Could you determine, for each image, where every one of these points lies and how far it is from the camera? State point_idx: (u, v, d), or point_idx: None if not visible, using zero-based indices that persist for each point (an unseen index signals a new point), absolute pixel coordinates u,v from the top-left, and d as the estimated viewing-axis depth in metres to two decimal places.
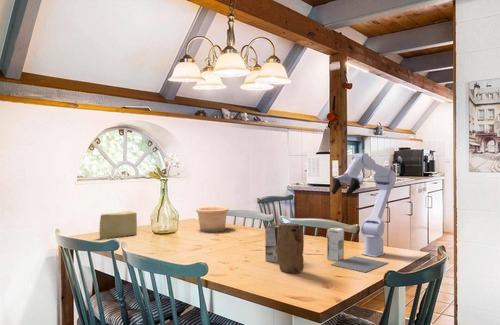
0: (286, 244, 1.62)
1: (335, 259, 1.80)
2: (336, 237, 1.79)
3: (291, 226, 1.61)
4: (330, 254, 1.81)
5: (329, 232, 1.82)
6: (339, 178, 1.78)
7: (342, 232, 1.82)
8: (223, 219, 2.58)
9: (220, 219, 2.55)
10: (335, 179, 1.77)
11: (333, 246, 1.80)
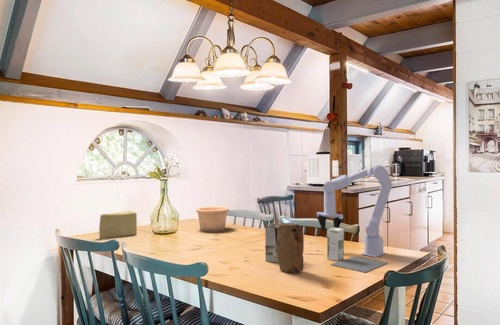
0: (286, 244, 1.62)
1: (335, 259, 1.80)
2: (336, 237, 1.79)
3: (291, 226, 1.61)
4: (330, 254, 1.81)
5: (329, 232, 1.82)
6: (321, 214, 1.99)
7: (342, 232, 1.82)
8: (223, 219, 2.58)
9: (220, 219, 2.55)
10: (319, 219, 1.98)
11: (333, 246, 1.80)
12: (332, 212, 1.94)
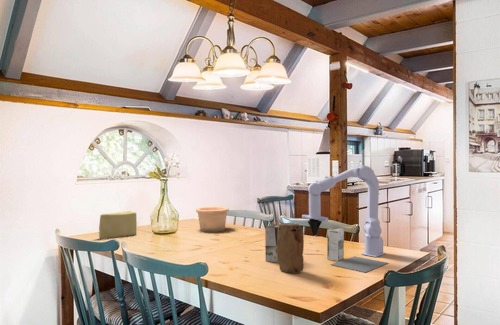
0: (286, 244, 1.62)
1: (335, 259, 1.80)
2: (336, 237, 1.79)
3: (291, 226, 1.61)
4: (330, 254, 1.81)
5: (329, 232, 1.82)
6: None
7: (342, 232, 1.82)
8: (223, 219, 2.58)
9: (220, 219, 2.55)
10: (310, 223, 1.90)
11: (333, 246, 1.80)
12: (317, 215, 1.89)
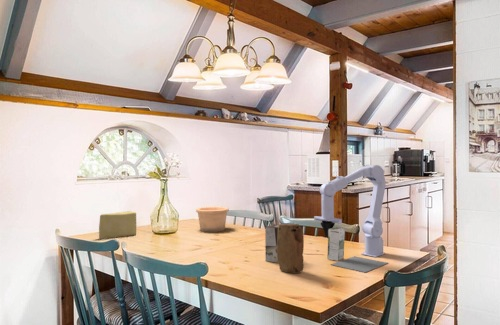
0: (286, 244, 1.62)
1: (335, 259, 1.80)
2: (336, 237, 1.79)
3: (291, 226, 1.61)
4: (330, 254, 1.81)
5: (330, 232, 1.81)
6: (319, 218, 1.88)
7: (343, 232, 1.82)
8: (223, 219, 2.58)
9: (220, 219, 2.55)
10: (323, 224, 1.85)
11: (333, 246, 1.80)
12: (330, 216, 1.83)
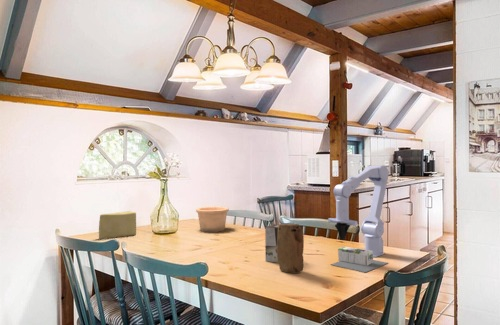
0: (286, 244, 1.62)
1: (339, 258, 1.79)
2: (361, 262, 1.72)
3: (291, 226, 1.61)
4: (343, 253, 1.77)
5: (364, 255, 1.71)
6: (333, 220, 1.82)
7: None
8: (223, 219, 2.58)
9: (220, 219, 2.55)
10: (337, 226, 1.79)
11: (351, 257, 1.75)
12: (345, 218, 1.77)
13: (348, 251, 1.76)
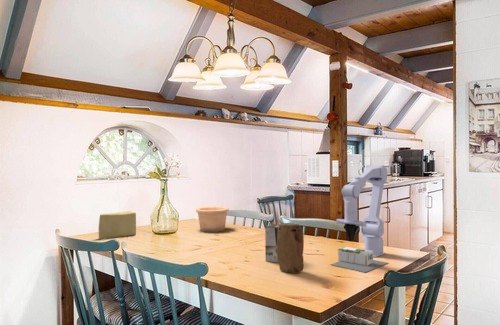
0: (286, 244, 1.62)
1: (339, 258, 1.79)
2: (361, 262, 1.72)
3: (291, 226, 1.61)
4: (343, 253, 1.77)
5: (364, 255, 1.71)
6: (342, 221, 1.79)
7: None
8: (223, 219, 2.58)
9: (220, 219, 2.55)
10: (346, 228, 1.76)
11: (351, 257, 1.75)
12: (354, 219, 1.74)
13: (348, 251, 1.76)
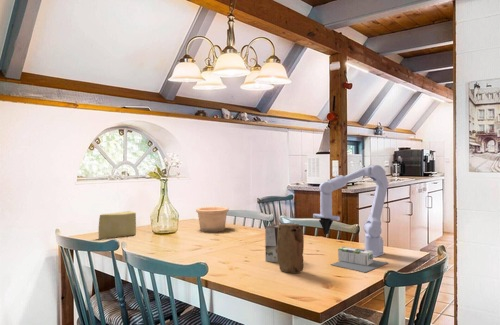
0: (286, 244, 1.62)
1: (339, 258, 1.79)
2: (361, 262, 1.72)
3: (291, 226, 1.61)
4: (343, 253, 1.77)
5: (364, 255, 1.71)
6: (318, 216, 1.94)
7: None
8: (223, 219, 2.58)
9: (220, 219, 2.55)
10: (321, 221, 1.90)
11: (351, 257, 1.75)
12: (328, 214, 1.89)
13: (348, 251, 1.76)
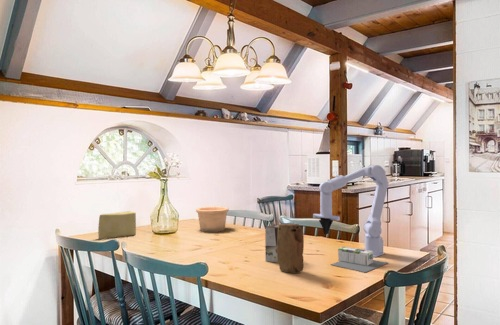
0: (286, 244, 1.62)
1: (339, 258, 1.79)
2: (361, 262, 1.72)
3: (291, 226, 1.61)
4: (343, 253, 1.77)
5: (364, 255, 1.71)
6: (318, 216, 1.94)
7: None
8: (223, 219, 2.58)
9: (220, 219, 2.55)
10: (321, 221, 1.90)
11: (351, 257, 1.75)
12: (328, 214, 1.89)
13: (348, 251, 1.76)
